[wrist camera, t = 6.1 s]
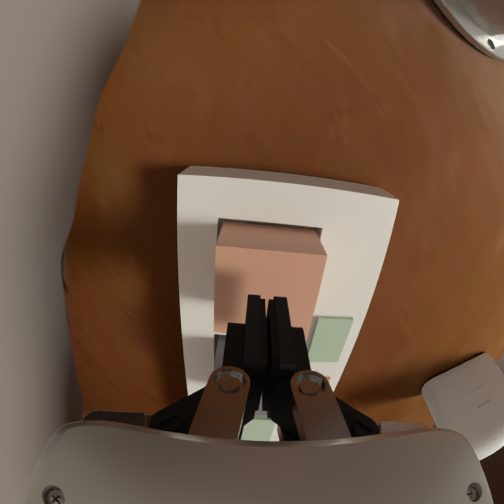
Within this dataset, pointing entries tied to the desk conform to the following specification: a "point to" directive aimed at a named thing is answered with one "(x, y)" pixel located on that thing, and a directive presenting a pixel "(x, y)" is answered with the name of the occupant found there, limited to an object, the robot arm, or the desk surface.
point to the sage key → (258, 429)
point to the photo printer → (470, 403)
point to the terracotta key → (267, 271)
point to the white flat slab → (285, 215)
